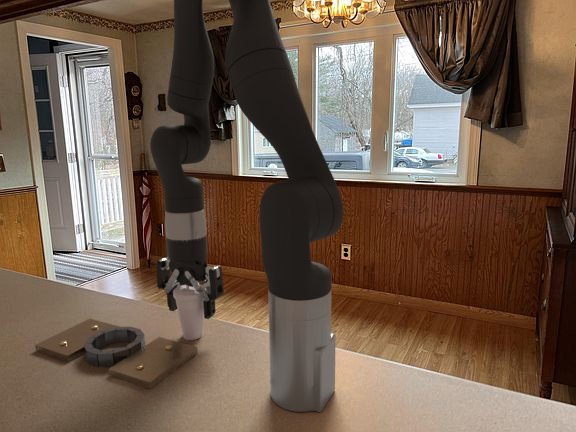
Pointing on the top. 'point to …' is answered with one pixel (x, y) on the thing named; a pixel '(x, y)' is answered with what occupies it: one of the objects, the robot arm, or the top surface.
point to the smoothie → (189, 311)
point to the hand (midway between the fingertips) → (191, 313)
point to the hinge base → (119, 351)
